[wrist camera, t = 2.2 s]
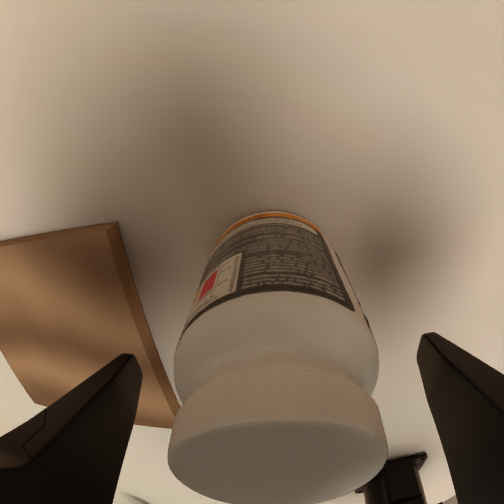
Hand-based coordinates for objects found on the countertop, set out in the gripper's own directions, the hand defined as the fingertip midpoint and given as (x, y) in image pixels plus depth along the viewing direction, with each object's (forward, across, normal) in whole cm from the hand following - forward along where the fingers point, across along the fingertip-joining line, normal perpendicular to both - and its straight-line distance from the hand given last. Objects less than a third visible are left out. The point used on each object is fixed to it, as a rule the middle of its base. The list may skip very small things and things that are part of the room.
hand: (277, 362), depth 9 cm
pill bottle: (+6, 0, 0) cm, 6 cm away
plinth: (+6, +14, +4) cm, 16 cm away
